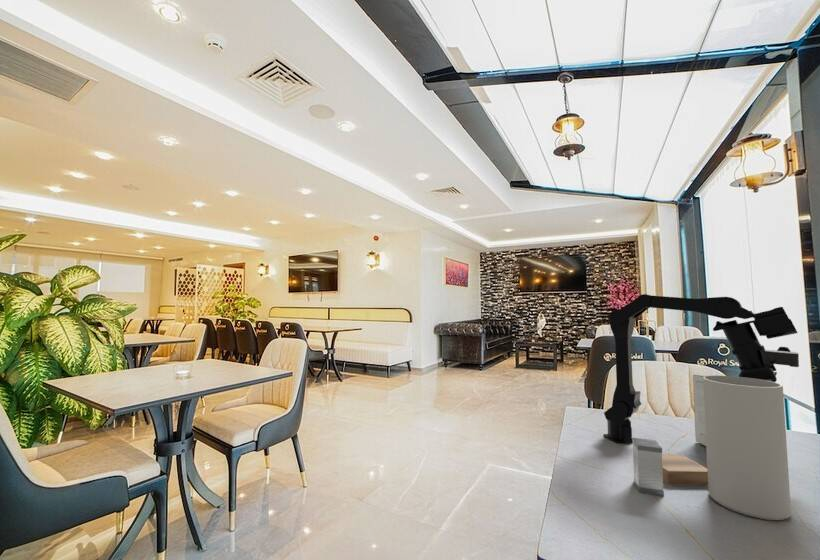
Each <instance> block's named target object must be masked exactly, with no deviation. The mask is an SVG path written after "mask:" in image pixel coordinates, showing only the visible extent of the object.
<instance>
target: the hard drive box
mask: <svg viewBox="0 0 820 560" xmlns="http://www.w3.org/2000/svg"><path fill="white" fill-rule="evenodd" d="M704 376H706V375H704V374H693V375H692V382H693V403H694V404H693V409H694V428H695V429H694V431H695V433H694V434H695V435H694V436H695V442H697V443H699V444H701V445H703V446H705V447H706V431H705V411H704V391H703V377H704Z"/></svg>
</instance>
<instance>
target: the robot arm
mask: <svg viewBox="0 0 820 560" xmlns="http://www.w3.org/2000/svg"><path fill="white" fill-rule="evenodd" d="M650 308H653V309H664V310H672V311H673V310H674V311H685V312H695V313H699V314H703V315H707V316H711V317H716V318H720V319H724V320H727V319H728V320H729V321H725V322H722V321H719V320H718V321H716V323H715V325H714V327H713V328H712V331H714V332H716V331H723V333H724V336H725V337H726V340H727V342H728V344H729V346H730V348H731V352H732V355H733V356H734V357H735V358H736V361H737V362H738V365H739V367H738V368H739V370H740V373H739V374H738V377H745V378H754V379H760V380H766V381H772V382H776V383H777V373H778V372H777V368H776V365H778V366H779V365H781V366H789V367H793V368H799V367H800V363H799V362H800V361H799V354H800V353H799V352H797V351H791V349H790V348H789V347H788V346H779V347H778V348H777V349H776V350H775V349H765V345H763V344H761V342H760V341H759V339H758V337H757V335H756V333H755V331H754V329H753V327H752V325H751V324H753V325H754V327H755V330H756V332H757V334H758V335H759V336H760V337H763V336H764V337H766V338H767V340H770V339H774V338H775V339H776V338H780V337H785V336H790V335H795V334H798V331H797V328H796V327H795V325H794V323H793V321H792V320H791V318H789V315H788V314H787V312H786V310H785V308H784V307H783V306H778V307H775V308H772V309H770V310H765V311H760V312H757V313H754V312H753V311H752V310H748V309H746V308H744V307H743V305H742V304H741V302H740V301H738V300H737V299H736V298H733V297H732V296H731V297H729V296H716V297H703V298H692V297H691V298H690V297H689V298H688V297H678V296H676V297H675V296H674V297H673V296H663V295H662V296H660V295H652V294H648V293H647V294H640V295H638V297H637V298H635V299H634V300H633V301H631V302H629V303H627V304H625V305H624V306H622V307H621V308H619V309H618V308H617V309H613V310H612V311H611V312H610V313H609V315H608V322H609V323H608V324H609V325H610V330H611V332H612V335H613V337H614V347H615V348H614V350H615V371H616V373H615V374H616V375H615V377H616V385H615V388H614V392H613V397H612V403H611V407H610V408H608V409H606V411H604V412H603V414H604V417H605V419H606V421H607V433H604V434H603V437H605V438H606V439H609V440H611V441H613V442H615V443H616V444H623V443H624V444H625V443H633V442H632V438H633V430H632V421H631V420H630V418H632V415H633V414H634V413H636V412H637V411H638V410H639V408H640V406H641V405H642V403H641V391H640V390H636V389H635V387H634V384H633V382H634V380H633V361H632V357H633V356H632V336H633V332H634V329H635V323H636V319H638V318H639V317H640V316H642V314H644V313H645V312H646V311H647V310H648V309H650ZM734 318H739V319H743V320H747V319H751V318H752V319H753V320H748V321H745V322H744V321H743V322H740V323H738V321H737V319H734ZM730 319H733V320H730Z"/></svg>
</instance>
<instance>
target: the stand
mask: <svg viewBox="0 0 820 560" xmlns="http://www.w3.org/2000/svg"><path fill="white" fill-rule="evenodd" d="M662 469H663V483H666V484H667V485H670V486H708V471H707V467H705V466H703V465H701V464H699V463H697V462H696V461H695V460H693V459H692V458H691V459H690V458H688V457H686V456H685V455H683V454H680V453H679V454H678V453H674V454H671V453H668V454H667V453H665V454H664V453H662Z"/></svg>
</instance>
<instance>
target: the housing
mask: <svg viewBox="0 0 820 560" xmlns="http://www.w3.org/2000/svg"><path fill="white" fill-rule="evenodd" d="M631 443H632V458H633V460H632V461H633V484H634V485H635V487H636V489H637V491H638V493H640V494H647V495H653V496H659V497H664V496H665V491H664V481H663V469H662V454H663V448H662V446H661V445H660V444H659V442H657V441H656V439H646V438H641V437H640V438H639V437H632V442H631Z"/></svg>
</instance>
